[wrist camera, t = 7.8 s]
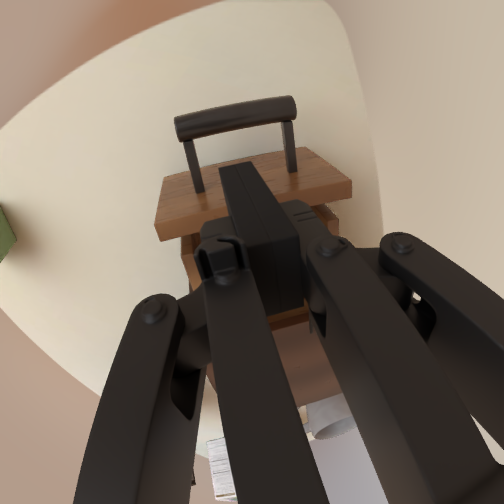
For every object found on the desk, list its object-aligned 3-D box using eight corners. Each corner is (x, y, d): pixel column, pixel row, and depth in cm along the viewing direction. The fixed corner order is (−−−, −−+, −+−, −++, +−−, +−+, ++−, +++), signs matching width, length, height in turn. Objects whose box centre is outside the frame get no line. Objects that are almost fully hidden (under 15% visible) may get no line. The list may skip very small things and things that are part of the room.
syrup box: (240, 441, 57) (252, 498, 45) (216, 447, 57) (226, 502, 45) (229, 435, 54) (242, 496, 42) (205, 441, 54) (214, 501, 42)
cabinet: (188, 269, 29) (192, 349, 21) (314, 238, 29) (359, 305, 22) (221, 356, 37) (233, 423, 29) (316, 332, 38) (343, 392, 30)
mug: (340, 358, 43) (364, 408, 36) (348, 378, 48) (368, 422, 41) (271, 388, 44) (286, 440, 37) (288, 405, 49) (302, 450, 42)
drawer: (147, 117, 19) (125, 138, 13) (299, 87, 20) (348, 96, 14) (204, 302, 30) (212, 365, 24) (313, 274, 31) (344, 329, 24)
